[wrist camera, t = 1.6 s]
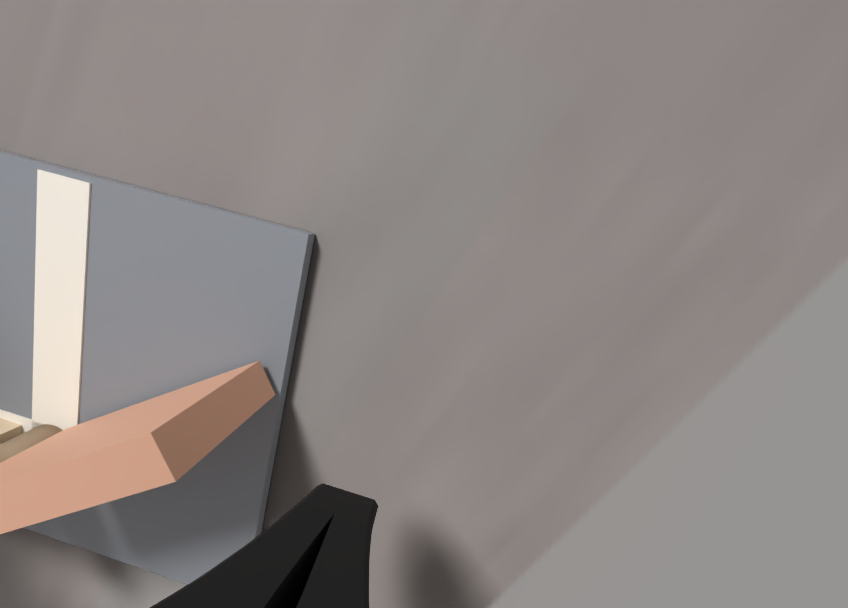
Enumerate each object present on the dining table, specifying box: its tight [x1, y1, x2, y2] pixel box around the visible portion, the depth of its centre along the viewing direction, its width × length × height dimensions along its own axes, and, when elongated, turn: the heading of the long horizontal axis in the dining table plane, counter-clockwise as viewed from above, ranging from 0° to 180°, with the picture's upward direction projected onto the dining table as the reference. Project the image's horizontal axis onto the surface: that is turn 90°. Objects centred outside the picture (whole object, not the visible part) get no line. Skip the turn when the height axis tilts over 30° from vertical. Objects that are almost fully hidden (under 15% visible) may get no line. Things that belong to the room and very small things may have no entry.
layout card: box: [0, 150, 315, 585], centre depth 15 cm, size 16×14×1 cm
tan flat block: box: [0, 361, 275, 534], centre depth 12 cm, size 8×1×4 cm, turn 111°
